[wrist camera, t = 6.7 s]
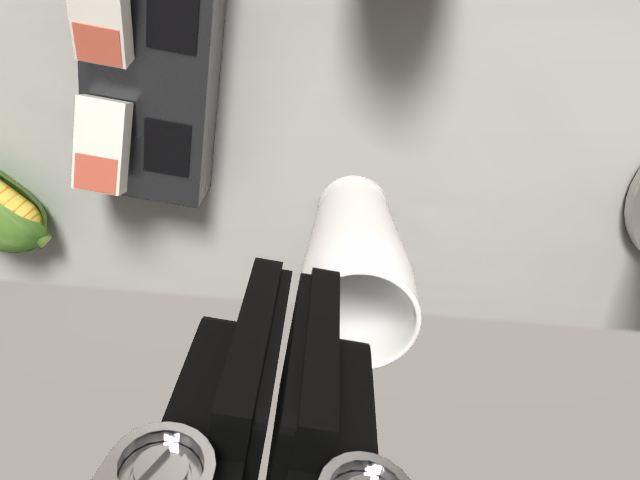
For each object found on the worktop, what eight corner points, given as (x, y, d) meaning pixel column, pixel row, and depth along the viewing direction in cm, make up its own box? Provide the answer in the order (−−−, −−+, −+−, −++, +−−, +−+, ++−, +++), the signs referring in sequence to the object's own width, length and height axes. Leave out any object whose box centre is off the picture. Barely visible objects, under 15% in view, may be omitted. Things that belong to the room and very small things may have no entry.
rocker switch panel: (243, -211, 29) (229, -236, 25) (210, 186, 41) (196, 211, 37) (96, -243, 29) (57, -274, 25) (103, 167, 40) (78, 190, 36)
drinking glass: (407, 229, 42) (437, 356, 29) (325, 253, 43) (319, 385, 30) (382, 151, 39) (404, 253, 26) (296, 179, 40) (274, 289, 27)
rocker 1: (126, -44, 29) (115, -36, 27) (134, 58, 32) (125, 70, 31) (70, -56, 28) (56, -47, 27) (85, 49, 32) (74, 60, 31)
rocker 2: (133, 102, 34) (124, 103, 32) (126, 191, 35) (117, 196, 34) (85, 93, 33) (74, 94, 32) (81, 183, 35) (70, 188, 34)
